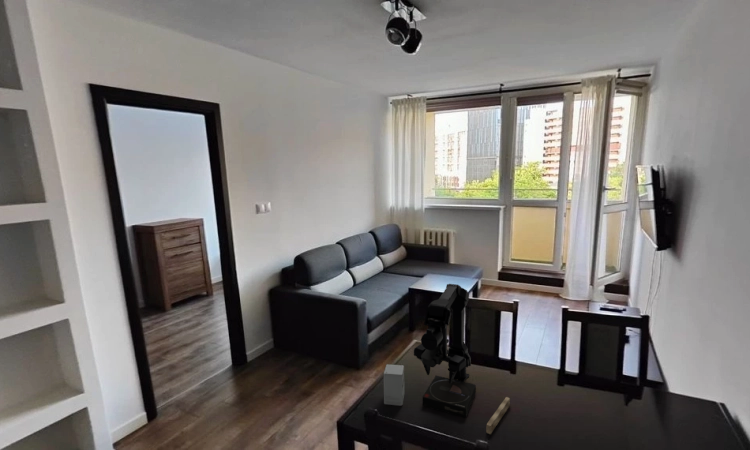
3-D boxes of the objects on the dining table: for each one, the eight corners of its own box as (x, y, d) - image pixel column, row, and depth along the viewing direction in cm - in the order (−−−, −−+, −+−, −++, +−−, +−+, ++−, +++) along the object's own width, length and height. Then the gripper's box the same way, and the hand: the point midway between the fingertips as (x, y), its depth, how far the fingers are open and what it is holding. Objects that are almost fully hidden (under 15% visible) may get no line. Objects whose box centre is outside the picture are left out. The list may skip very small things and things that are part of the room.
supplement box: (402, 406, 133) (402, 375, 132) (383, 404, 135) (382, 373, 133) (405, 394, 140) (404, 365, 139) (386, 393, 142) (386, 363, 140)
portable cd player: (475, 393, 141) (475, 384, 140) (465, 419, 126) (466, 408, 125) (436, 383, 149) (436, 374, 148) (422, 406, 134) (422, 396, 133)
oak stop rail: (506, 404, 133) (506, 396, 132) (509, 405, 132) (509, 398, 131) (486, 432, 118) (486, 424, 118) (490, 434, 117) (490, 426, 117)
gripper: (404, 338, 125) (405, 379, 127) (451, 354, 113) (451, 399, 115) (421, 328, 133) (422, 366, 135) (467, 342, 121) (466, 384, 123)
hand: (439, 378), depth 127 cm, fingers open, 9 cm apart
